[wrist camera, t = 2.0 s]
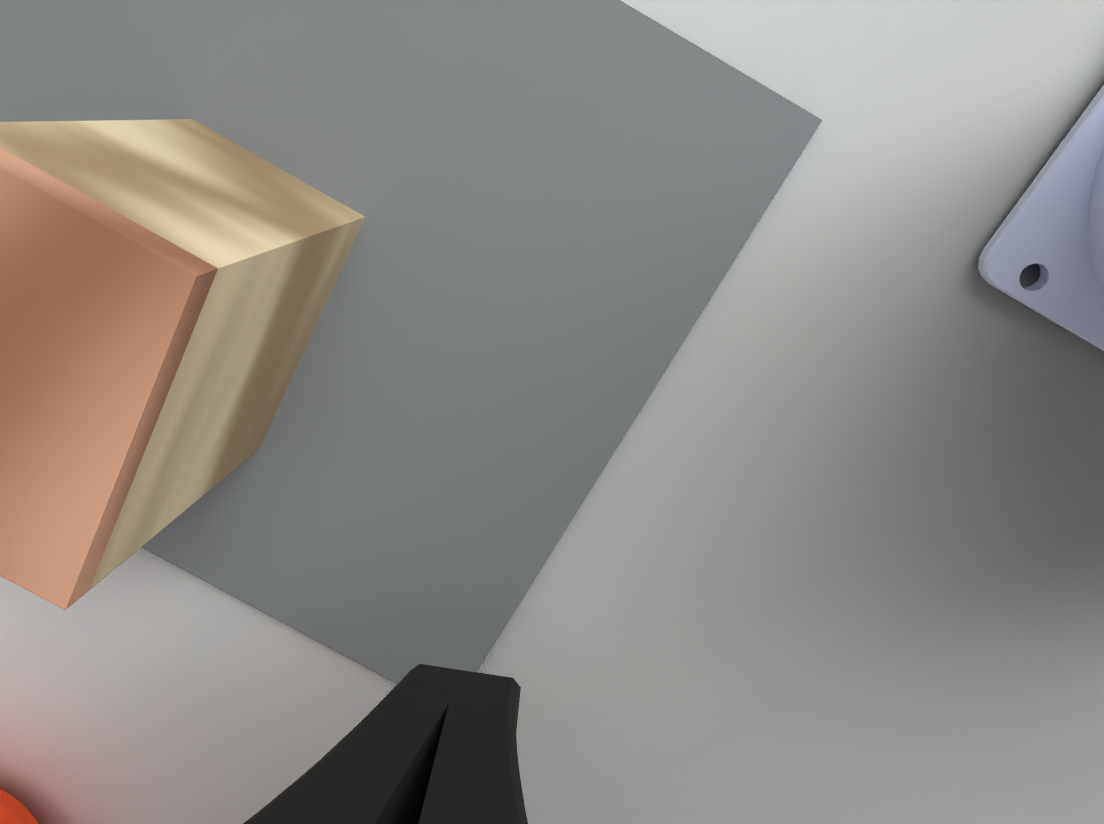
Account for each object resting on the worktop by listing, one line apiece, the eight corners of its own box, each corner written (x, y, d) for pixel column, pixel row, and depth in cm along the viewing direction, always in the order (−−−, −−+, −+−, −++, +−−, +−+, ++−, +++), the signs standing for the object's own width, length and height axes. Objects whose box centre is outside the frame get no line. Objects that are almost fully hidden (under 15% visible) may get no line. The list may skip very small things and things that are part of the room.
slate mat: (819, 119, 17) (822, 120, 17) (453, 705, 22) (451, 712, 22) (-135, -445, 16) (-150, -456, 15) (-277, 314, 21) (-290, 317, 21)
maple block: (365, 216, 18) (196, 275, 12) (260, 448, 20) (65, 609, 14) (192, 119, 18) (-80, 123, 11) (103, 363, 20) (-171, 486, 13)
